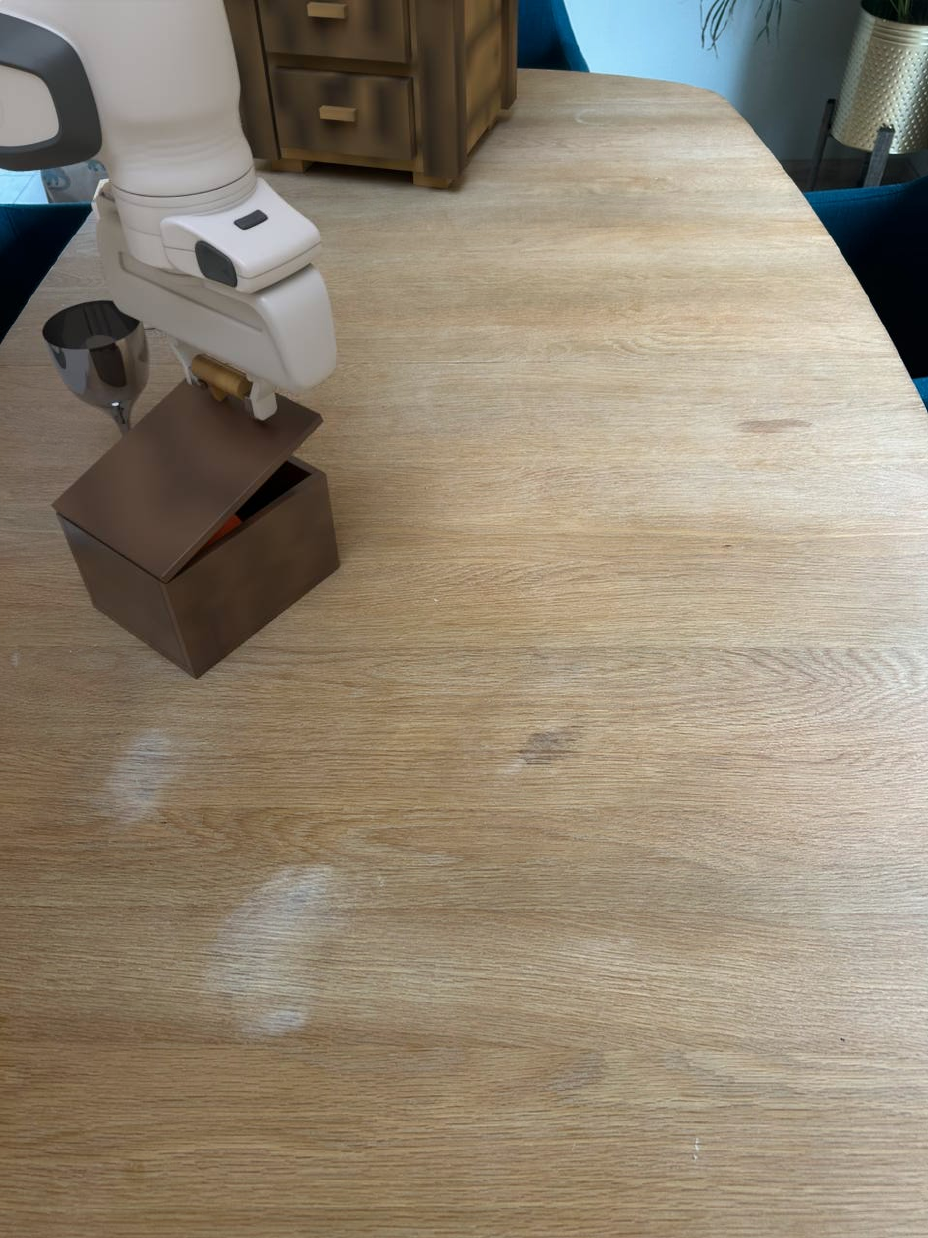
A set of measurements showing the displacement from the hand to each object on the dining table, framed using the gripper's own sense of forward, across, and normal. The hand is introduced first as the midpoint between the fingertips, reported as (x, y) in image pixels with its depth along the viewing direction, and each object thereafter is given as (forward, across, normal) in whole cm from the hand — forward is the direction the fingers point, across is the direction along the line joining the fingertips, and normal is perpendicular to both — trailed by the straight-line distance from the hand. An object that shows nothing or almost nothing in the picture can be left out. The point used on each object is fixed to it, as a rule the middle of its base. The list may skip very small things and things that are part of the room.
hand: (232, 398), depth 74 cm
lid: (+3, 0, -5) cm, 6 cm away
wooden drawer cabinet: (+15, -51, +73) cm, 90 cm away
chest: (+15, 0, -5) cm, 16 cm away
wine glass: (+15, -18, +1) cm, 24 cm away
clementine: (+15, 0, -6) cm, 16 cm away
